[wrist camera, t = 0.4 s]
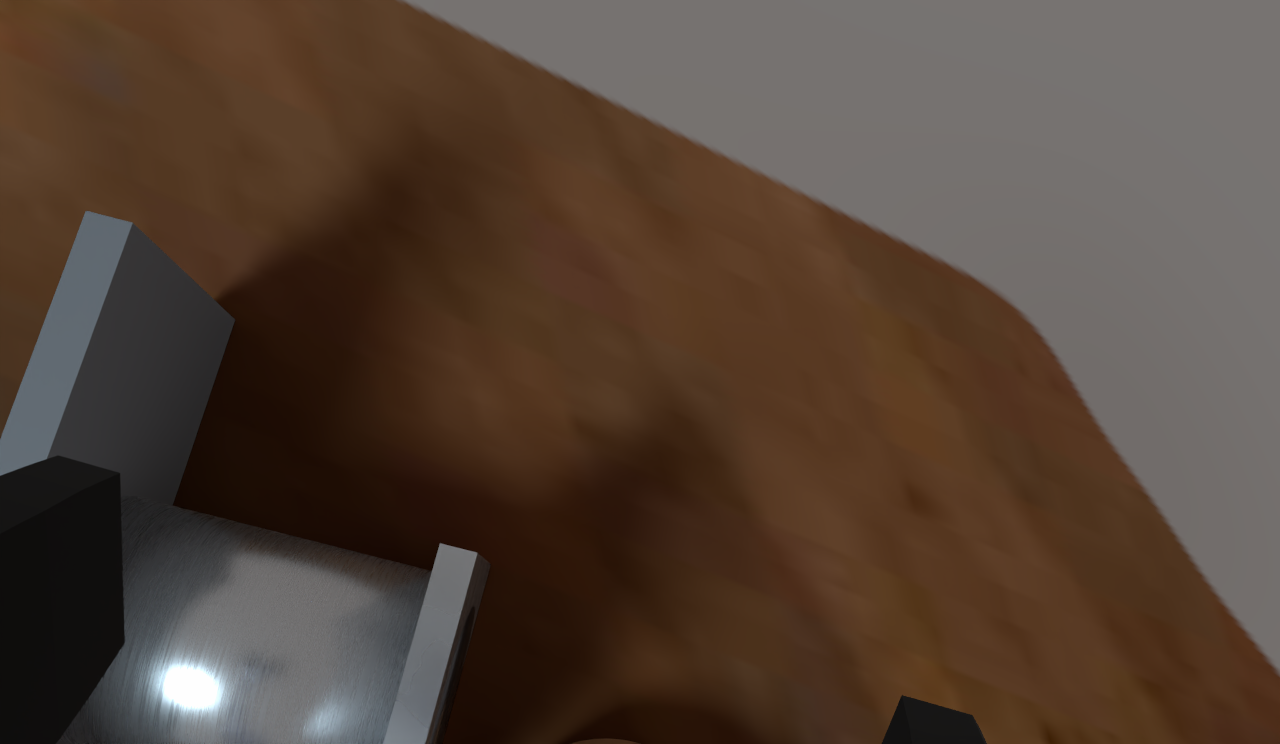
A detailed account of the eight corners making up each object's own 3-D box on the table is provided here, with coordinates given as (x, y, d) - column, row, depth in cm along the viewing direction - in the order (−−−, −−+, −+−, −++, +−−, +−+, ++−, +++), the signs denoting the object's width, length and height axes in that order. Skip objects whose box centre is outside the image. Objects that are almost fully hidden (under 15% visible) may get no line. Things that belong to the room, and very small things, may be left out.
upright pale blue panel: (367, 1023, 35) (300, 1187, 25) (-14, 933, 34) (-234, 1063, 25) (537, 398, 39) (537, 328, 29) (200, 310, 39) (86, 210, 29)
